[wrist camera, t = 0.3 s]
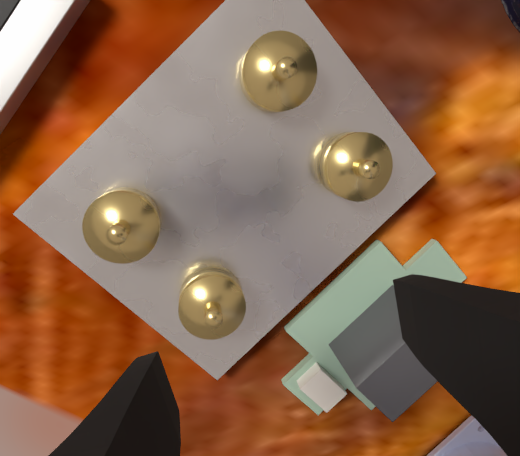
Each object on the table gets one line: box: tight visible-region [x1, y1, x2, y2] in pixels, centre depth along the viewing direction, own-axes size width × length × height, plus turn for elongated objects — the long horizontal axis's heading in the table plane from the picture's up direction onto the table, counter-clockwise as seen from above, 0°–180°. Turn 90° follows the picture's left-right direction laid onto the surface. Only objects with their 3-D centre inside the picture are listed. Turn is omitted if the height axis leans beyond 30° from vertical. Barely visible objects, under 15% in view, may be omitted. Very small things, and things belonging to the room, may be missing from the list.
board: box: [281, 239, 467, 422], centre depth 21 cm, size 8×12×5 cm, turn 133°
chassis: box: [13, 0, 436, 380], centre depth 18 cm, size 13×16×4 cm
